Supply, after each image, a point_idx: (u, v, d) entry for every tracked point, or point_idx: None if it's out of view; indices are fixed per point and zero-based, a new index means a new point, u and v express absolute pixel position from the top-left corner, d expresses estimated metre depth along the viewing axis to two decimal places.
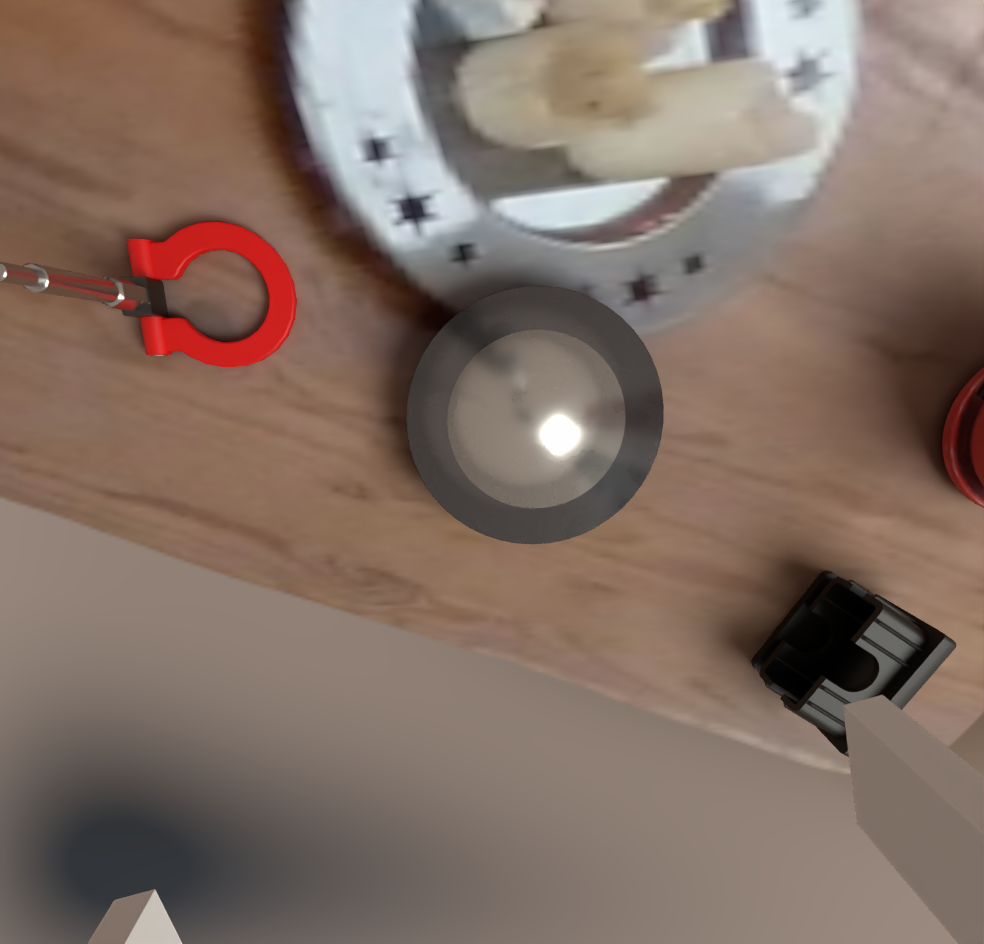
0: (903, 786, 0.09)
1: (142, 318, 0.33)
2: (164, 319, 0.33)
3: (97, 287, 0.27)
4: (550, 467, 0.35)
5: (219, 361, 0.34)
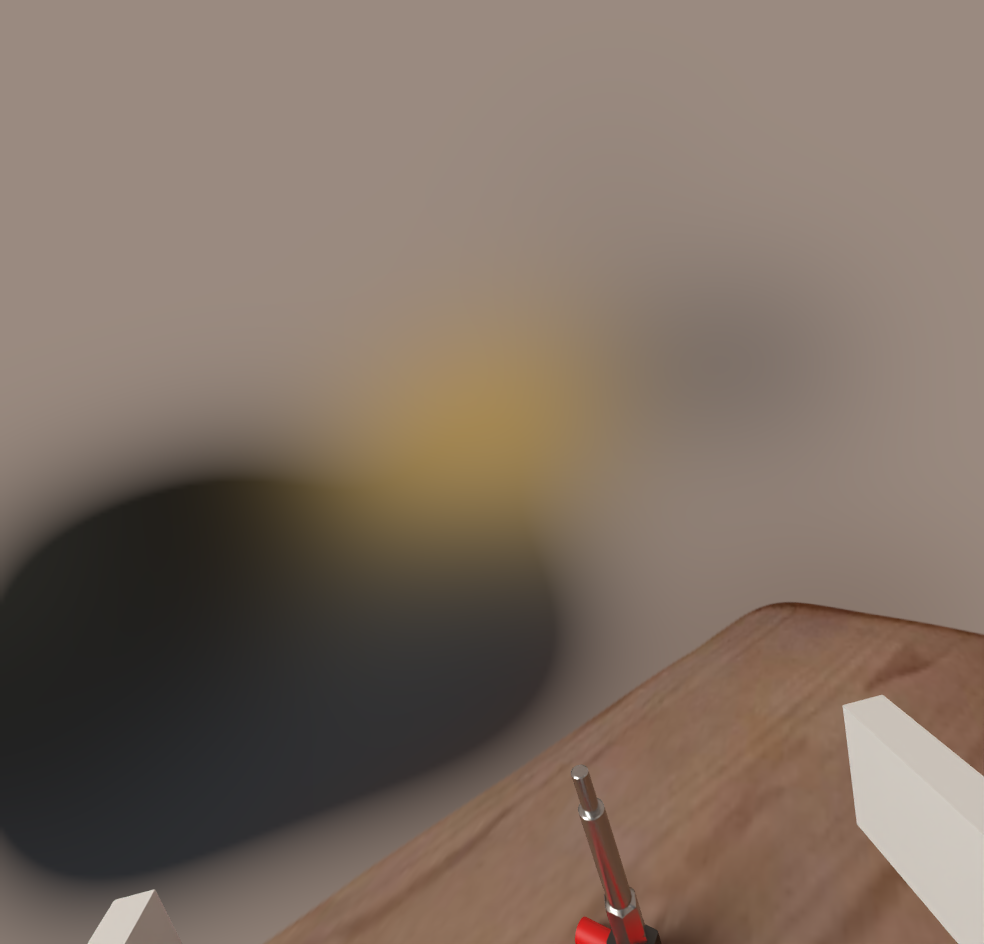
0: (903, 786, 0.09)
1: None
2: None
3: (603, 878, 0.25)
4: None
5: None
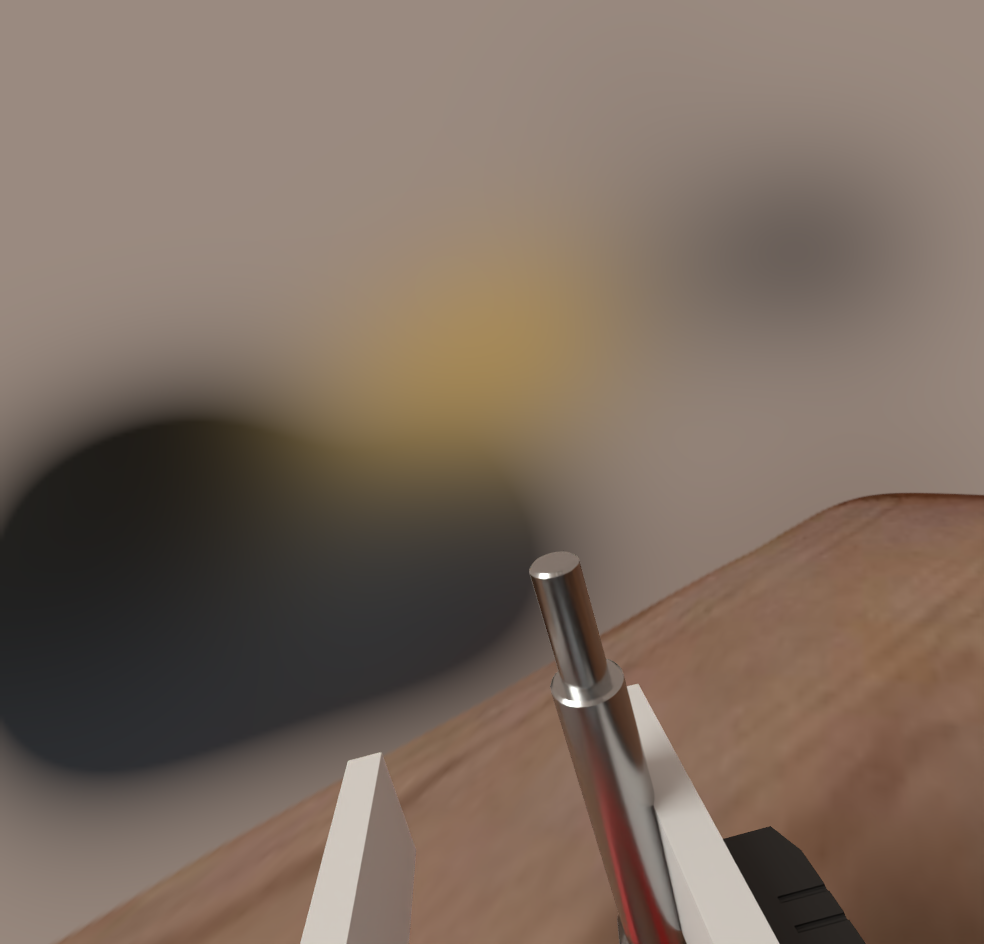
0: None
1: None
2: None
3: (618, 877, 0.09)
4: None
5: None
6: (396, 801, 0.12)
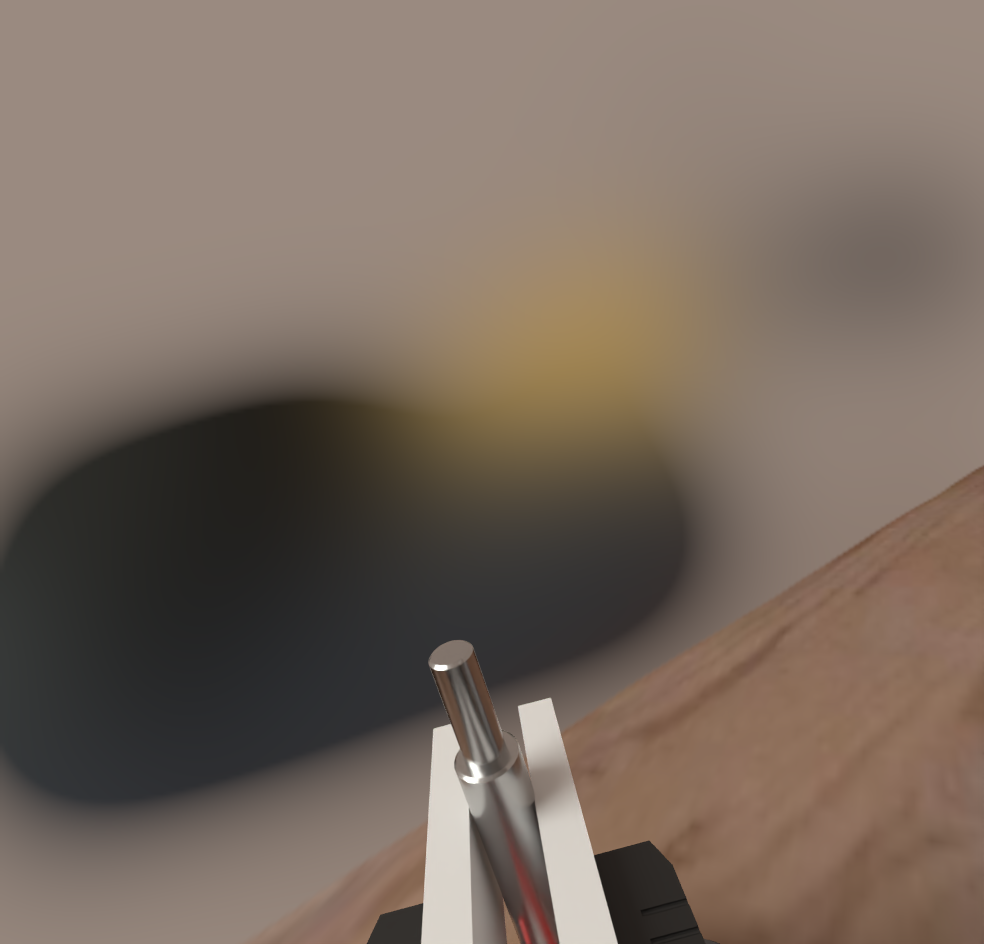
0: None
1: None
2: None
3: (523, 932, 0.10)
4: None
5: None
6: None
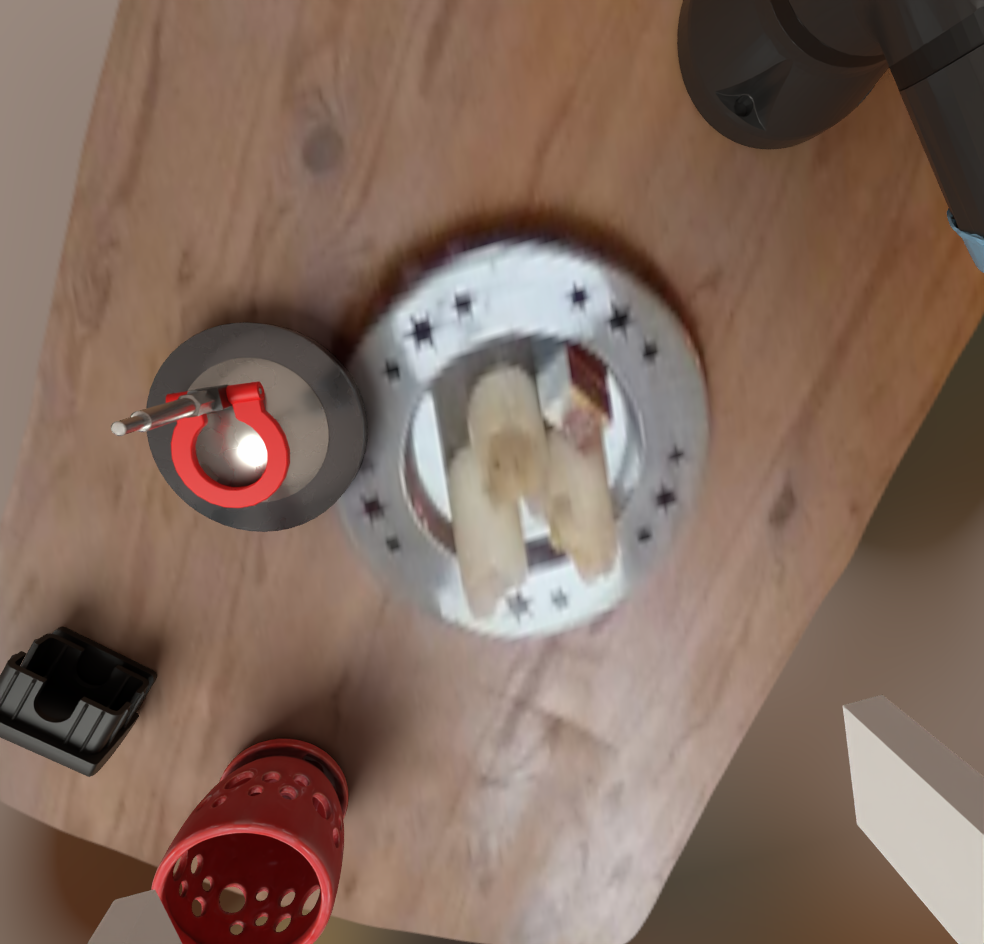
0: (903, 786, 0.09)
1: None
2: None
3: None
4: (216, 444, 0.42)
5: (175, 453, 0.41)
6: None
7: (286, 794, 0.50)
